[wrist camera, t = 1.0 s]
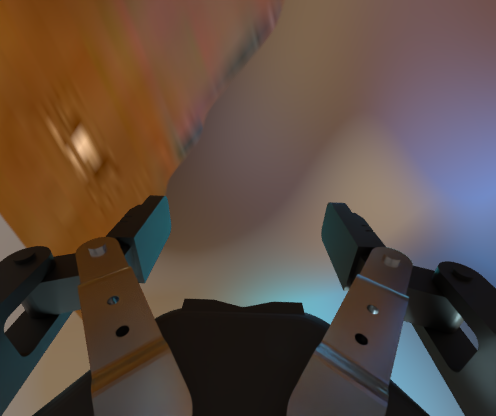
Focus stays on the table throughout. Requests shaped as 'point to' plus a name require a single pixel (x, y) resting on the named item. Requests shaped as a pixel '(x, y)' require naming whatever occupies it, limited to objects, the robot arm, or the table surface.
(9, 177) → the table surface
